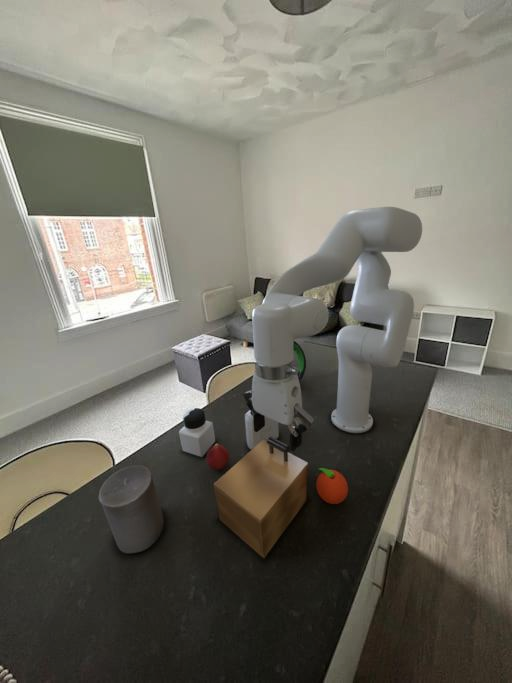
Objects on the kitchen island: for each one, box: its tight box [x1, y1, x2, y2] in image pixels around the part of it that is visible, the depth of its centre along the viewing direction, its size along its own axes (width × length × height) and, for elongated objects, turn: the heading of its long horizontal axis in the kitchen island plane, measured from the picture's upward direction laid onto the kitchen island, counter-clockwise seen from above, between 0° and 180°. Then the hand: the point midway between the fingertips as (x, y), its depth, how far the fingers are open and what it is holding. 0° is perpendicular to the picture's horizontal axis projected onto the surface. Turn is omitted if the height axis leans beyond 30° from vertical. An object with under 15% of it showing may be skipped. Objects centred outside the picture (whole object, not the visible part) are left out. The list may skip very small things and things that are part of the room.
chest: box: [213, 468, 307, 559], centre depth 61 cm, size 16×13×10 cm
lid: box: [213, 437, 309, 523], centre depth 58 cm, size 16×13×5 cm
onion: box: [205, 443, 230, 471], centre depth 73 cm, size 6×6×8 cm
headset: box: [293, 340, 307, 383], centre depth 105 cm, size 18×14×29 cm
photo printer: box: [244, 409, 280, 450], centre depth 80 cm, size 10×4×12 cm, turn 123°
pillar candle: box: [98, 464, 165, 554], centre depth 57 cm, size 10×10×15 cm
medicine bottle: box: [178, 407, 216, 458], centre depth 80 cm, size 7×7×12 cm
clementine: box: [315, 467, 349, 505], centre depth 63 cm, size 8×7×7 cm
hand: (276, 437), depth 60 cm, fingers open, 9 cm apart
